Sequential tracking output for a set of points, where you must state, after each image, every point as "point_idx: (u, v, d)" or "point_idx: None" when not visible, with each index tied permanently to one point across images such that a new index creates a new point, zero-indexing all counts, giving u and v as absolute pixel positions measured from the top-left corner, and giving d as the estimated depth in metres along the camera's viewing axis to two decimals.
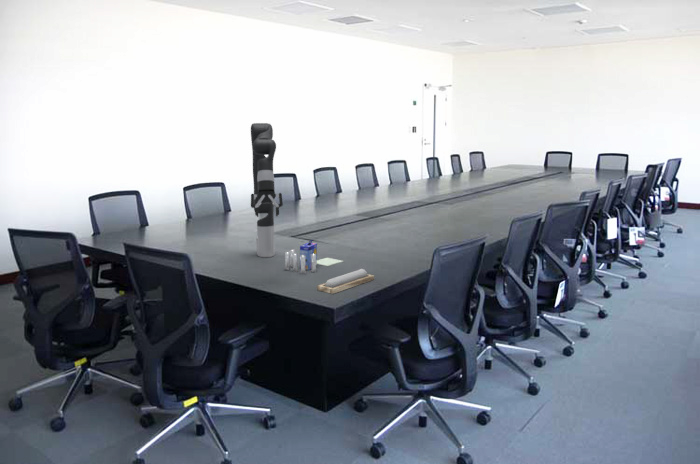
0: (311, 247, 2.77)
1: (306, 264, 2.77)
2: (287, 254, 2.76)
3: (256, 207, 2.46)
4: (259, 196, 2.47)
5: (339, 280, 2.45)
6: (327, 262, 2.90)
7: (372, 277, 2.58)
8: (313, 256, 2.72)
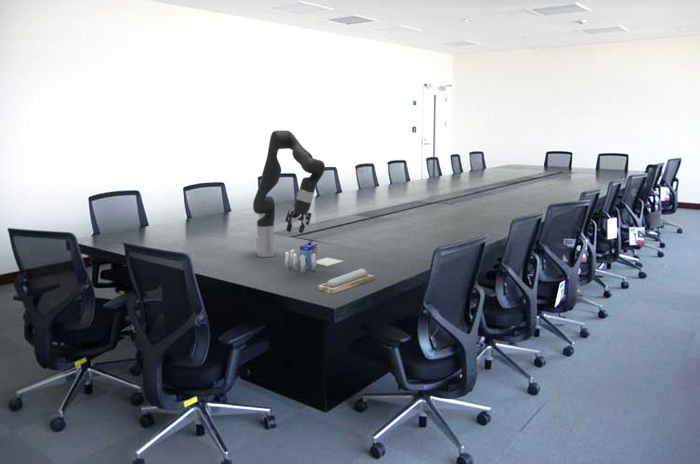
0: (311, 247, 2.77)
1: (306, 264, 2.77)
2: (287, 254, 2.76)
3: (291, 224, 2.58)
4: (296, 214, 2.58)
5: (340, 280, 2.45)
6: (327, 262, 2.90)
7: (372, 277, 2.58)
8: (313, 256, 2.72)
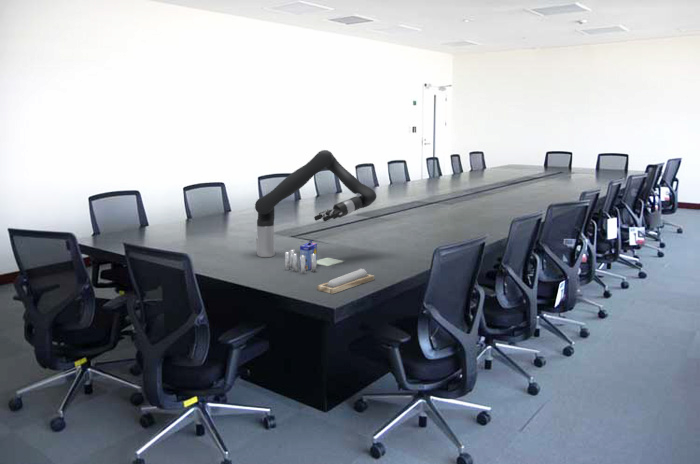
0: (311, 247, 2.77)
1: (306, 264, 2.77)
2: (287, 254, 2.76)
3: None
4: None
5: (341, 280, 2.45)
6: (327, 262, 2.90)
7: (372, 277, 2.58)
8: (313, 256, 2.72)
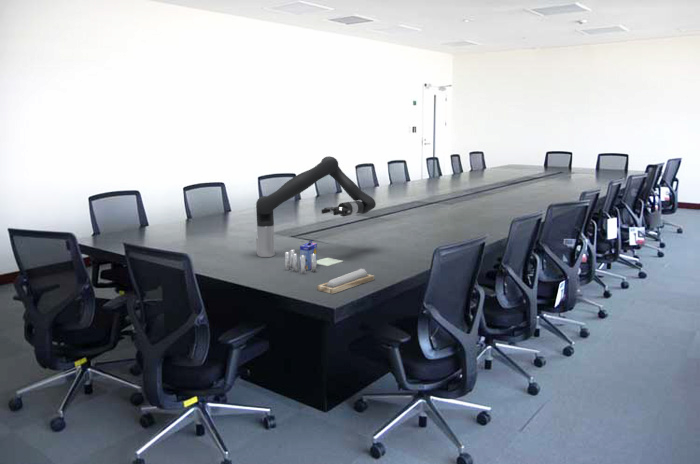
0: (311, 247, 2.77)
1: (306, 264, 2.77)
2: (287, 254, 2.76)
3: (339, 214, 2.88)
4: None
5: (341, 280, 2.45)
6: (327, 262, 2.90)
7: (372, 277, 2.58)
8: (313, 256, 2.72)
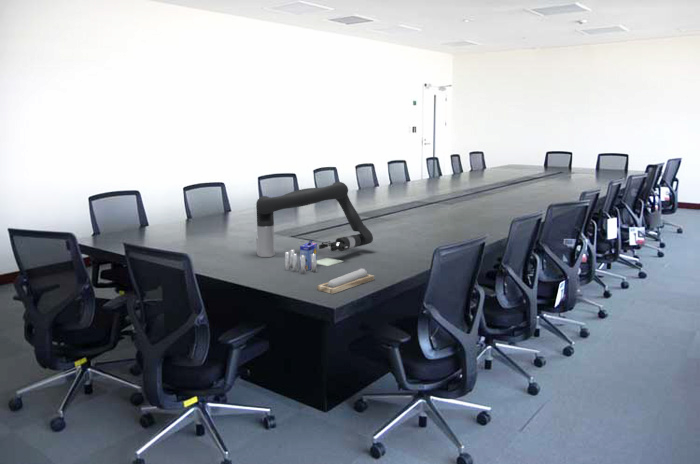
0: (311, 247, 2.77)
1: (306, 264, 2.77)
2: (287, 254, 2.76)
3: None
4: None
5: (341, 280, 2.45)
6: (327, 262, 2.90)
7: (372, 277, 2.58)
8: (313, 256, 2.72)
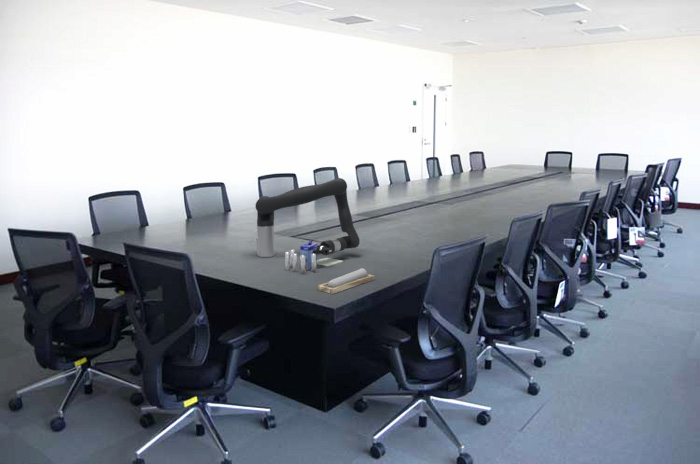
0: (311, 247, 2.77)
1: (306, 264, 2.76)
2: (287, 254, 2.76)
3: None
4: None
5: (341, 280, 2.45)
6: (327, 262, 2.90)
7: (372, 277, 2.58)
8: (313, 256, 2.72)
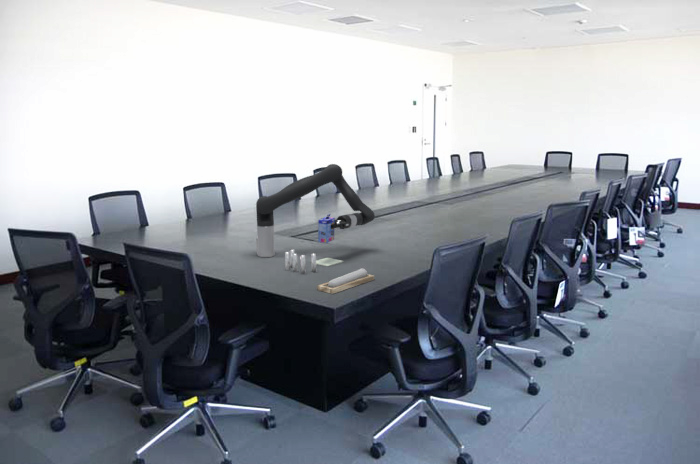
0: (329, 221, 2.84)
1: (324, 237, 2.84)
2: (287, 254, 2.76)
3: (336, 227, 2.89)
4: (342, 226, 2.93)
5: (342, 280, 2.45)
6: (327, 262, 2.90)
7: (372, 277, 2.58)
8: (313, 256, 2.72)
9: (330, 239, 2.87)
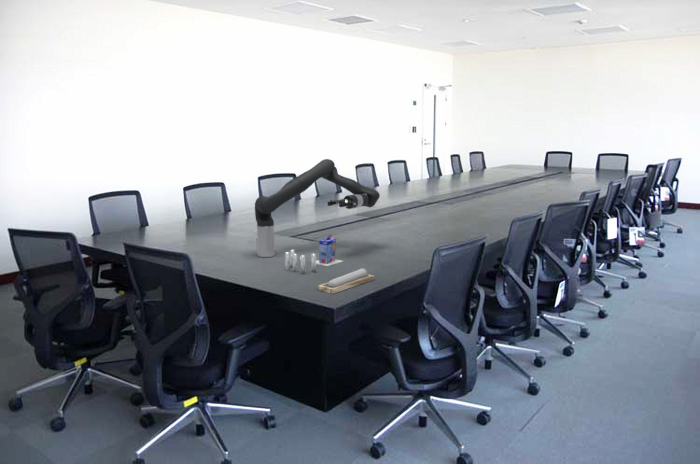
0: (330, 242, 2.87)
1: (325, 258, 2.87)
2: (287, 254, 2.76)
3: (345, 206, 2.94)
4: None
5: (342, 280, 2.45)
6: None
7: (372, 277, 2.58)
8: (313, 256, 2.72)
9: (331, 259, 2.90)
